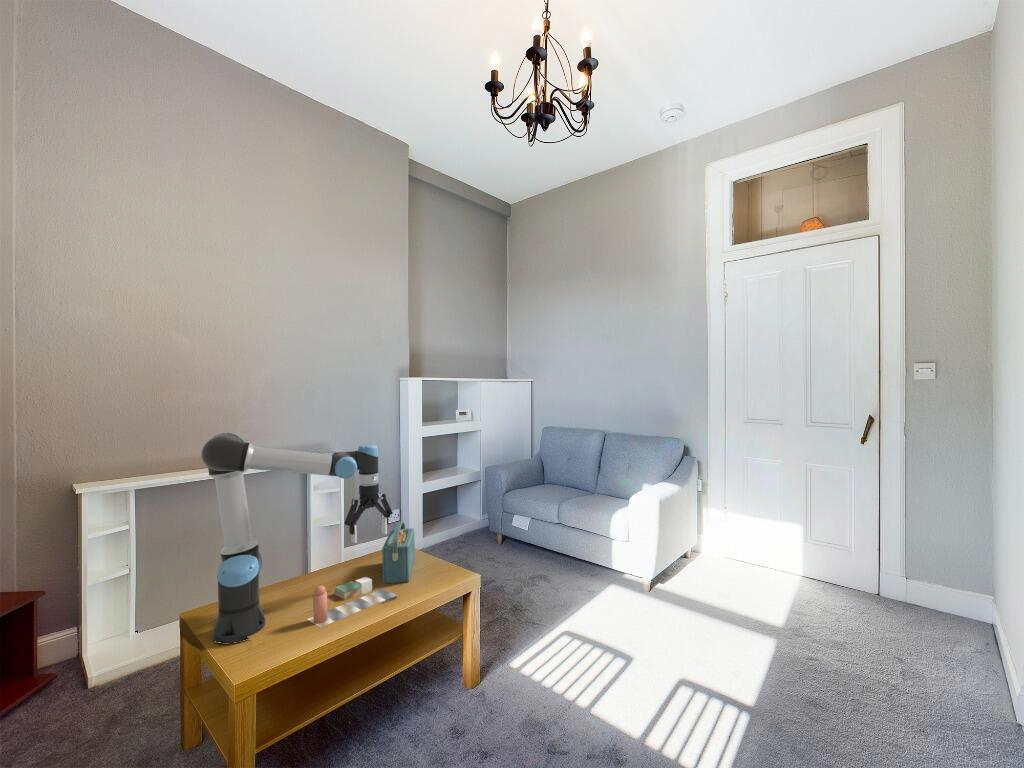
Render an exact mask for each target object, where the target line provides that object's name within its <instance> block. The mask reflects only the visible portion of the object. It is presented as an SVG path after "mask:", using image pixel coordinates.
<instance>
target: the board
mask: <svg viewBox="0 0 1024 768" xmlns="http://www.w3.org/2000/svg"><path fill="white" fill-rule="evenodd" d="M396 599H398V594H395V593H394V592H391V591H389V590H387V589H385V588H381V589H379V590H376V591H372V592H370V593H367V595H364V596H361V597H359V598H356V599H353V600H351V601H349V602H346V603H344V604H342V605H339V606H336V607H334V608H331V609H329V610H328V609H327V611H328V620H327V621H325V622H323V623H319V624H317V623H314V615H313V616H311V617H309V618H307V620H308V621H309V622H310V623H312V624H313V625H315V626H317V628H322V627H325V626H328V625H329V624H333V623H334V622H337V621H339V620H342V619H344V618H347V617H349V616H351V615H353V614H356V613H358V612H360V611H363V610H365V609H367V608H369V607H372V606H375V605H376V604H382V605H384V604H386V603H389V602H391V601H393V600H396Z"/></svg>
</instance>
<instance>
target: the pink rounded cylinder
mask: <svg viewBox="0 0 1024 768" xmlns="http://www.w3.org/2000/svg"><path fill="white" fill-rule="evenodd" d="M326 589H327V588H326V587H325V586H324V585H318V586H316V587H315V589H314V591H313V594H312V604H313V605H312V606H313V607H312V608H313V611H312V613H313V616H314V623H317V624H319V623H323V622H325V621H327V620H328V592H327V591H326ZM314 623H313V624H314Z"/></svg>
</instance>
